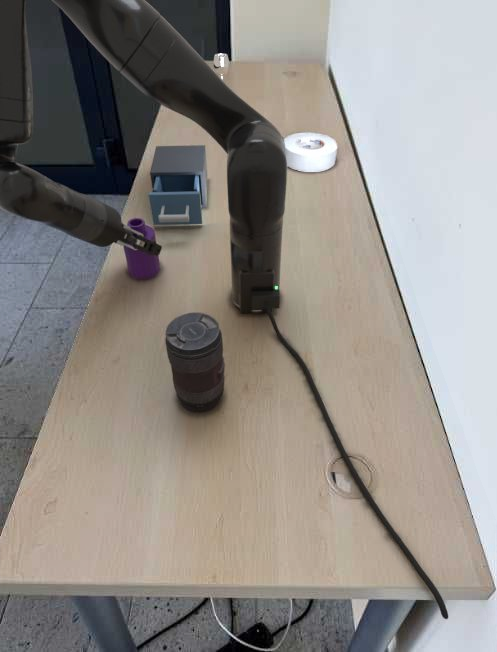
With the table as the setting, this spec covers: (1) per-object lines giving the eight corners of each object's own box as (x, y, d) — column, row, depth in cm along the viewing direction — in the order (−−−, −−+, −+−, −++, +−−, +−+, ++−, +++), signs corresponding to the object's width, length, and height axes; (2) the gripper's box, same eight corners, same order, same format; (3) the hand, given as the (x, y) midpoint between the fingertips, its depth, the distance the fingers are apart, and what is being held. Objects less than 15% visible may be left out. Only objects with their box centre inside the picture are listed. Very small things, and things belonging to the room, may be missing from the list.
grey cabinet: (206, 207, 121) (203, 171, 114) (155, 208, 120) (149, 172, 114) (207, 179, 131) (205, 145, 124) (160, 180, 131) (156, 145, 124)
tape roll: (339, 152, 143) (342, 135, 139) (329, 175, 132) (332, 158, 129) (289, 146, 146) (290, 129, 143) (275, 168, 136) (276, 150, 132)
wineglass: (212, 89, 182) (210, 54, 174) (226, 87, 184) (225, 52, 176) (218, 94, 178) (216, 58, 170) (232, 92, 180) (231, 56, 172)
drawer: (201, 238, 109) (198, 207, 104) (150, 239, 109) (145, 208, 104) (204, 195, 123) (202, 166, 118) (159, 196, 123) (154, 167, 118)
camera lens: (202, 369, 82) (195, 302, 72) (235, 395, 78) (233, 329, 68) (164, 396, 78) (151, 330, 68) (198, 425, 74) (190, 360, 64)
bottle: (158, 278, 100) (150, 231, 92) (127, 279, 100) (116, 231, 92) (161, 260, 105) (154, 213, 97) (131, 260, 105) (121, 213, 97)
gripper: (125, 212, 81) (179, 239, 96) (70, 188, 87) (128, 217, 102) (108, 253, 82) (164, 274, 97) (54, 226, 88) (115, 249, 103)
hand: (146, 244), depth 100 cm, fingers closed on bottle, 6 cm apart
